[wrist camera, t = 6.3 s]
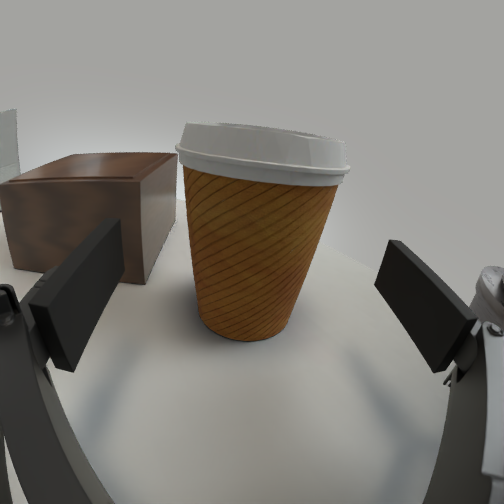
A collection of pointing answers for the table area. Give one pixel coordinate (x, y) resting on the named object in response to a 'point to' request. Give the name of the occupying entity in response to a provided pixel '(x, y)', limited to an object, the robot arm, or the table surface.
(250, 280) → the disposable coffee cup
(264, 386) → the table surface
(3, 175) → the cosmetic box
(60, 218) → the walnut riser
